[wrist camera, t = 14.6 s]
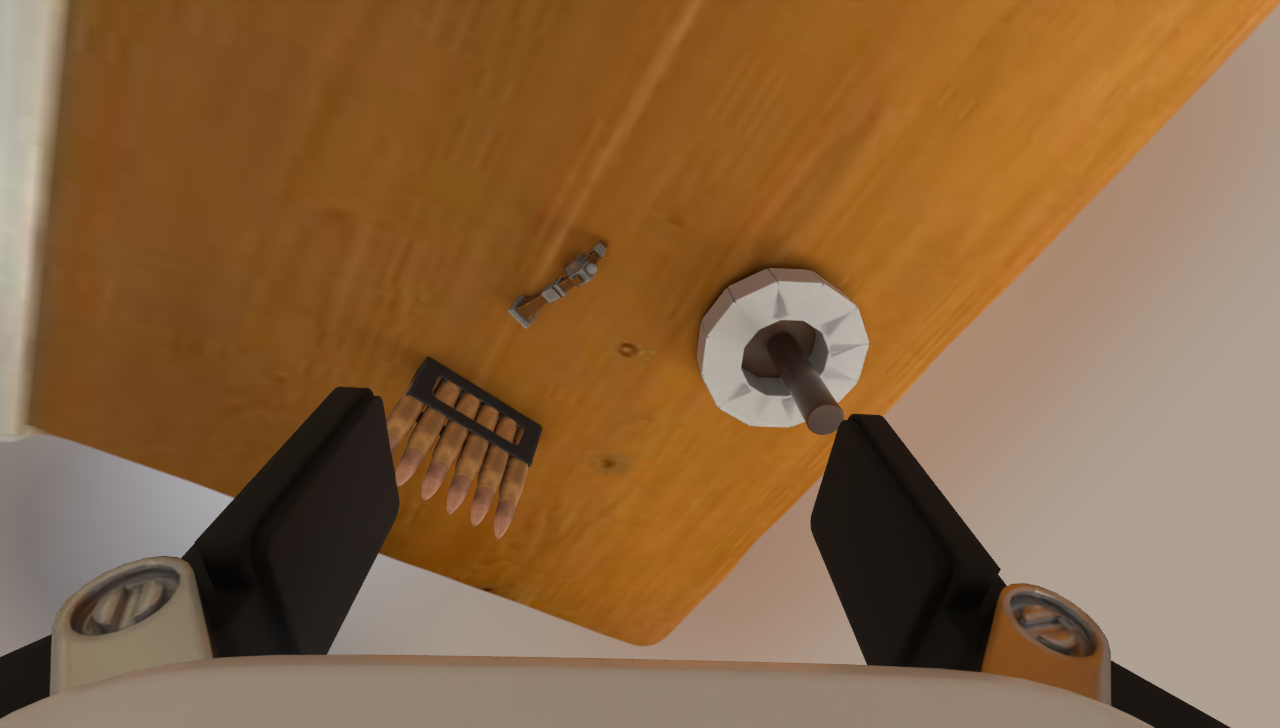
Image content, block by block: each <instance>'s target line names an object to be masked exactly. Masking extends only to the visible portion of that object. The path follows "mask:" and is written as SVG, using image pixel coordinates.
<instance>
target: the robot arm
mask: <svg viewBox="0 0 1280 728" xmlns="http://www.w3.org/2000/svg"><path fill="white" fill-rule="evenodd" d="M398 510H399V495H398V489H397V483H396V477H395V472H394V466H393V460H392V454H391V448H390V442H389V436H388V430H387V424H386V418H385V412H384V406H383V402H382V399H381V397H379V396H374V394H373V392H372V391H371V389H369V388H355V387H337V388H336V389H334V390H333V391H332V392H331V393H330V395H329V396H328V397H327V398H326V399H325V400H324V401H323V402H322V403H321V404H320V405H319V407H318V408H317V409H316V410H315V411H314V412H313V413H312V414H311V415H310V416H309V418H308V419H307V420H306V421H305V422H304V423H303V424H302V425H301V426H300V427H299V428H298V430H297V431H296V432H295V433H294V434H293V435H292V436H291V437H290V438H289V439H288V441H287V442H286V443H285V444H284V445H283V446H282V447H281V448H280V449H279V450H278V451H277V453H276V454H275V455H274V456H273V457H272V458H271V459H270V460H269V461H268V462H267V463H266V465H265V466H264V467H263V468H262V469H261V470H260V471H259V472H258V473H257V474H256V476H255V477H254V478H253V479H252V480H251V481H250V482H249V483H248V484H247V485H246V486H245V488H244V489H243V490H242V491H241V492H240V493H239V494H238V495H237V496H236V497H235V499H234V500H233V501H232V502H231V503H230V504H229V505H228V506H227V507H226V508H225V509H224V511H223V512H222V513H221V514H220V515H219V516H218V517H217V518H216V520H215V521H214V522H213V523H212V524H211V525H210V526H209V527H208V528H207V529H206V530H205V531H204V533H203V534H202V535H201V536H200V537H199V538H198V539H197V540H196V541H195V544H194V545H193V546H192V547H191V548H190V549H189V550H188V551H187V552H186V553H185V555H184V556H183V557H182V558H181V559H180V558H178V557H169V556H158V557H150V558H143V559H140V560H136V561H133V562H129V563H126V564H123V565H121V566H118V567H117V568H114V569H112V570H109V571H107V572H105V573H103V574H101V575H100V576H98V577H97V578H95V579H93V580H92V581H90V582H88V583H87V584H85V585H84V586H82V587H81V588H80V589H79V590H78V591H76V592H75V593H74V594H73V595H72V596H71V597H69V598H68V599H67V600H66V602H65V603H64V604H63V606H62V607H61V608H60V610H59V611H58V612H57V614H56V616H55V620H54V623H53V626H52V634H51V635H49V636H47V637H45V638H42V639H40V640H38V641H36V642H33V643H31V644H29V645H27V646H24V647H22V648H20V649H18V650H15V651H13V652H11V653H9V654H6V655H4V656H2V657H0V728H1230V727H1228V726H1227V725H1224V724H1223V723H1221V722H1220V721H1218V720H1216V719H1214V718H1212V717H1211V716H1209V715H1207V714H1205V713H1204V712H1202V711H1200V710H1198V709H1196V708H1195V707H1193V706H1191V705H1189V704H1187V703H1186V702H1184V701H1182V700H1180V699H1179V698H1177V697H1175V696H1173V695H1171V694H1170V693H1168V692H1166V691H1164V690H1163V689H1161V688H1159V687H1157V686H1155V685H1154V684H1152V683H1150V682H1148V681H1146V680H1145V679H1143V678H1141V677H1139V676H1138V675H1136V674H1134V673H1132V672H1131V671H1129V670H1127V669H1125V668H1123V667H1122V666H1120V665H1118V664H1116V663H1114V662H1113V661H1111V656H1110V655H1111V652H1110V648H1109V644H1108V640H1107V639H1106V637H1105V635H1104V634H1103V632H1102V630H1101V629H1100V627H1099V626H1098V625H1097V624H1096V623H1095V622H1094V621H1093V620H1092V619H1091V618H1090V617H1089V616H1088V614H1086V613H1085V612H1084V611H1083V610H1081V609H1080V608H1079V607H1077V606H1076V605H1075V604H1074V603H1072V602H1071V601H1069V600H1067V599H1065V598H1064V597H1062V596H1060V595H1058V594H1057V593H1055V592H1052V591H1050V590H1047V589H1044V588H1042V587H1039V586H1035V585H1030V584H1025V583H1020V584H1011V585H1009V586H1006V584H1005V583H1004V582H1003V580H1002V579H1001V578H1000V576H999V575H998V573H999V571H1000V568H999V567H998V565H997V564H996V563H995V561H994V560H993V559H992V558H991V556H990V555H989V554H988V552H987V551H986V550H985V549H984V547H983V546H982V545H981V543H980V542H979V541H978V539H977V538H976V537H975V535H974V534H973V533H972V532H971V531H970V529H969V528H968V526H967V525H966V524H965V522H964V521H963V520H962V519H961V517H960V516H959V515H958V513H957V512H956V511H955V510H954V508H953V507H952V506H951V504H950V503H949V502H948V500H947V499H946V498H945V496H944V495H943V494H942V493H941V491H940V490H939V489H938V487H937V486H936V485H935V484H934V482H933V481H932V480H931V479H930V477H929V476H928V474H926V472H925V470H924V469H923V468H922V467H921V465H920V464H919V463H918V461H917V460H916V459H915V457H913V455H912V454H911V452H910V451H909V450H908V448H907V447H906V446H905V444H904V443H903V442H902V441H901V439H900V438H899V437H898V435H897V434H896V433H895V431H894V430H893V429H892V428H891V426H890V425H889V424H888V422H887V421H886V420H885V418H883V417H882V416H880V415H867V414H852V415H851V416H850V417H849V418H848V420H843V421H842V422H841V423H840V425H839V427H838V431H837V434H836V437H835V440H834V444H833V447H832V450H831V453H830V457H829V460H828V463H827V466H826V469H825V473H824V476H823V480H822V483H821V486H820V489H819V492H818V495H817V499H816V502H815V505H814V509H813V512H812V515H811V530H812V534H813V536H814V539H815V541H816V543H817V546H818V548H819V551H820V553H821V555H822V558H823V560H824V563H825V565H826V567H827V570H828V572H829V575H830V577H831V579H832V582H833V584H834V586H835V589H836V591H837V593H838V596H839V598H840V601H841V603H842V606H843V608H844V611H845V613H846V615H847V618H848V620H849V623H850V625H851V627H852V629H853V632H854V634H855V637H856V639H857V642H858V644H859V646H860V649H861V651H862V654H863V656H864V658H865V661H866V663H867V665H849V664H810V663H808V664H807V663H773V662H736V661H734V662H733V661H696V660H695V661H694V660H649V659H602V658H551V657H492V656H486V657H485V656H428V655H427V656H426V655H327V653H328V651H329V649H330V647H331V645H332V643H333V641H334V639H335V637H336V635H337V633H338V631H339V629H340V627H341V625H342V623H343V621H344V619H345V618H346V616H347V614H348V612H349V610H350V607H351V605H352V604H353V602H354V600H355V598H356V596H357V594H358V592H359V590H360V588H361V586H362V584H363V582H364V580H365V578H366V576H367V574H368V572H369V570H370V568H371V566H372V564H373V562H374V560H375V559H376V557H377V554H378V553H379V551H380V549H381V547H382V545H383V543H384V541H385V539H386V537H387V535H388V533H389V531H390V529H391V527H392V525H393V523H394V521H395V519H396V517H397V514H398Z"/></svg>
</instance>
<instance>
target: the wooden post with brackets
mask: <svg viewBox="0 0 1280 728" xmlns="http://www.w3.org/2000/svg"><path fill="white" fill-rule="evenodd" d="M607 247H608V246H607V245H606V244H605V243H604V242H603V241H602V240H601V241H600V242H598V243H597V244H596V246H594V248H592V249H591V251H590V252H589V256H587V255H585V256H584V257H583V256H582V255H581V253H580V254H579V255H578V257H577V258H576V259H575V260H574V261H570V263H569V264H568V265H567V267H566V274H567V275H568V276H566V277H564V278H563V277H562V276H561V277H559V278H558V280H557V279H556V280H555V282H553V283H552V284H550V285H548V286H546V287H545V289H544V290H543V291H542V292H540V293H538V294H536V295H534V296H532V297H530V298H528V299H526V298H525V297H524V296H523V295H522V296H521V297H518V298H517V300H516V301H515V302H514V304H513V305H512V306H511V308H510V309H509V310H508V312H509V313H510V314H511V315H512V316H513V317H514V318H516V319H517V320H518V321H519V322H520V323H521V324H522V325H523V326H524V327H525V328H527V327H528V326H529V325H530V324H531V322H532V321H533V319H534V318H535V317H536V315H537V314H538V311H539V310H540V309H541V308H542V307H543V306H544V305H546V304H547V303H550V304H551V303H552V302H553V301H555V300H557V299H559V298H561V297H562V296H563V297H564V295H566V294H567V293H568V291H569V290H570V289H572V288H574V287H575V286H577V287H578V288H579V287H580V286H581V285H582V284H584V283H586V282H588V281H591V280H592V278H593V277H594V275H595V274H596V271H597V266H596V265H595V264H596V263H597V261H598V260H599V259H601V258H602V256H603V255H604V253H605V252H604V251H605V250H606V248H607Z"/></svg>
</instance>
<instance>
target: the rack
mask: <svg viewBox="0 0 1280 728" xmlns="http://www.w3.org/2000/svg"><path fill="white" fill-rule="evenodd" d="M815 338H816V333H815V330H814V328H813V327H812V326H811V325H809V324H808V323H806V322H805V321H794V320H780V321H778V322H775V323H773V324H771V325H769V326H766V327H764V328H762V329H760V330H758V332H757V333H756V334H755V335H754V336H753V338H752V339H751V340H750V341H749V342H748V344H747V345H746V346H745V347H744V353H743V359H742V365H741V367H742V368H744V369H745V370H747V371H749V372H750V373H752V374H754V375H755V376H757V377H769V378H779V377H782V379H783V381H784V383H785V385H786V387H787V388H788V390H789V392H790V394H791V396H792V398H793V400H794V402H795V403H796V405H797V407H798V409H799V411H800V413H801V415H802V417H803V418H804V420H805V422H806V424H807V426H808V428H809V429H810V430H811V431H812V432H813V433H815V434H819V435H826V434H830V433H832V432H834V431H836V430H837V429H838V427H839V425H840V423H841V422H842V421H843V420H844V413H843V411H842V409H841V408H840V406H839V405H838V403H837V402H836V400H835V399H834V397H833V396H832V394H831V393H830V391H829V390H828V388H827V386H826V385H825V383H824V382H823V380H822V379H821V377H820V376H819V374H818V373H817V371H816V370H815V368H814V367H813V365H812V364H811V362H810V361H809V359H808V357H809V356H810V355H811V354H812V351H813V347H814V343H815Z"/></svg>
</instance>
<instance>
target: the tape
mask: <svg viewBox="0 0 1280 728" xmlns="http://www.w3.org/2000/svg"><path fill="white" fill-rule="evenodd" d="M780 320H794V321H805V322H806V323H808V324H809V325H811V326H812V327H813V328H814V330H815V333H816V338H815V343H814V347H813V351H812V354H811V355H810V356H809V357H808V359H809V361H810V362H811V364H812V365H813V367H814V368H815V370H816V371H817V373H818V374H819V376H820V377H821V379H822V380H823V382H824V383H825V385H826V386H827V388H828V390H829V391H830V393H831V394H832V396H833V397H834V399H835V400H836V402H837V403H838V402H839V401H840V400H841V399H842V398H843V397H844V396H845V395H846V394H847V393H848V392H849V391H850V390H851V389H852V388H853V387H854V386H855V385H856V384H857V383H858V381H857V380H859V377H860V374H861V371H862V367H863V364H864V360H865V357H866V353H867V350H868V346H869V340H868V337H867V334H866V330H865V327H864V324H863V321H862V318H861V315H860V312H859V309H858V307H857V305H855V304H854V303H853V302H852V301H851V300H850V299H849V298H848V297H847V296H846V295H845V294H844V293H843V292H842V291H841V290H839V289H838V288H836V287H835V286H834V285H832V284H831V283H829V282H828V281H826V280H825V279H824V278H822V277H821V276H819V275H818V274H817V273H815V272H814V271H812V270H811V271H810V270H803V269H782V268H769V269H764V270H762V271H760V272H758V273H756V274H754V275H752V276H749V277H747V278H745V279H743V280H741V281H739V282H737V283H735V284H732V285H730V286H728V288H726V289H725V290H724V292H723V293H722V294H721V296H720V297H719V298H718V299H717V301H716V302H715V303H714V305H713V306H712V307H711V309H710V310H709V311H708V312H707V314H706V315H705V316H704V318H703V319H702V322H701V325H700V333H699V341H698V349H697V361H698V365H699V368H700V372H701V376H702V378H703V380H704V382H705V384H706V386H707V388H708V390H709V392H710V394H711V396H712V398H713V400H714V402H715V403H716V405H717V407H718V408H719V409H721V410H723V411H724V412H726V413H728V414H730V415H731V416H733V417H735V418H737V419H738V420H740V421H742V422H744V423H745V424H747V425H749V426H750V425H751V426H761V427H790V426H791V427H793V426H795V425H797V424H800V423H802V422H805V420H804V418H803V417H802V415H801V413H800V411H799V409H798V407H797V405H796V403H795V402H794V400H793V398H792V396H791V394H790V392H789V390H788V388H787V387H786V385H785V383H784V381H783V379H782V377H779V378H769V377H757V376H755V375H754V374H752V373H750V372H749V371H747V370H745V369H744V368H742V367H741V365H742V359H743V353H744V347H745V346H746V345H747V344H748V342H749V341H750V340H751V339H752V338H753V336H754V335H755V334H756V333H757V332H758V330H760V329H762V328H764V327H766V326H769V325H771V324H773V323H775V322H778V321H780Z"/></svg>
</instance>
